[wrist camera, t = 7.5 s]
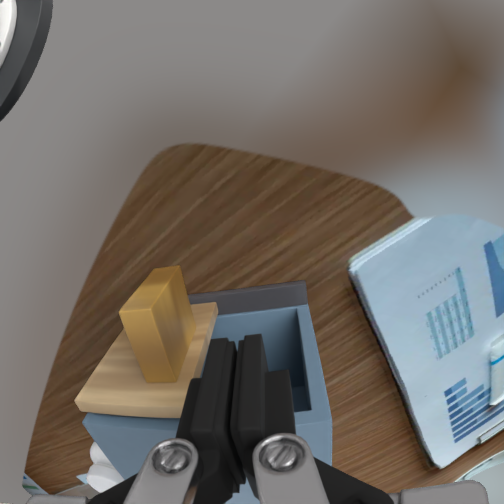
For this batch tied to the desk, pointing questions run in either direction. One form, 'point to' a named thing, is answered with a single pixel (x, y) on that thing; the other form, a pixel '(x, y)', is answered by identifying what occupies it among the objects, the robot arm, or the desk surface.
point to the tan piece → (152, 351)
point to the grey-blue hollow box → (235, 328)
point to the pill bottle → (102, 471)
